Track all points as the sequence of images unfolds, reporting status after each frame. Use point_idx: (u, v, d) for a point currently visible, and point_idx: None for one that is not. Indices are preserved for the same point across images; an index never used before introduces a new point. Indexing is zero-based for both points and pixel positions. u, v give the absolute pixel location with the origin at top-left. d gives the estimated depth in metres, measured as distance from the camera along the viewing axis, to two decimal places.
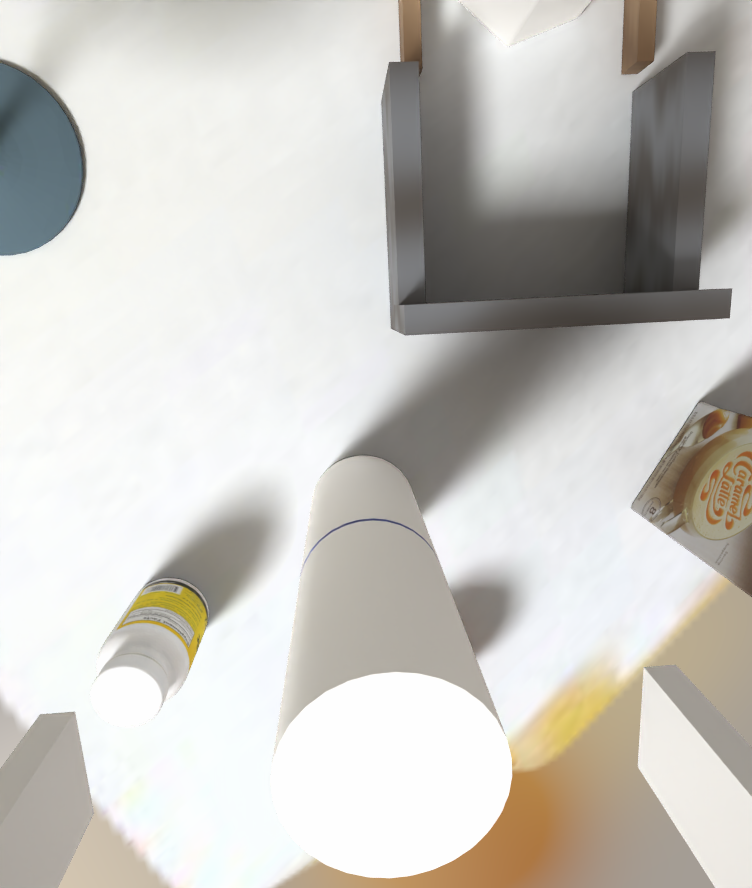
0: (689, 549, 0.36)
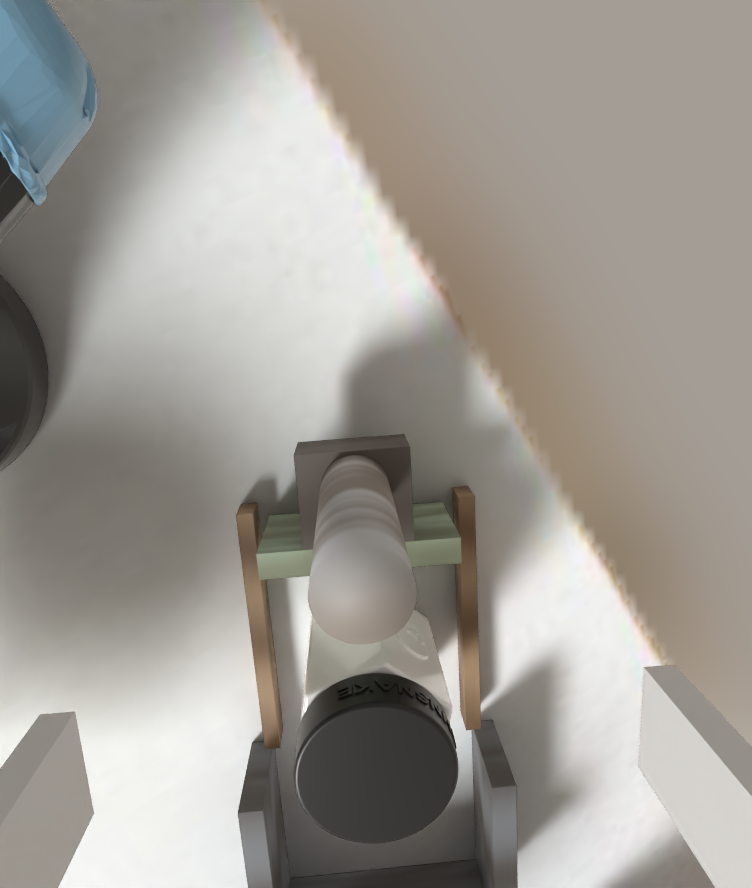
0: None
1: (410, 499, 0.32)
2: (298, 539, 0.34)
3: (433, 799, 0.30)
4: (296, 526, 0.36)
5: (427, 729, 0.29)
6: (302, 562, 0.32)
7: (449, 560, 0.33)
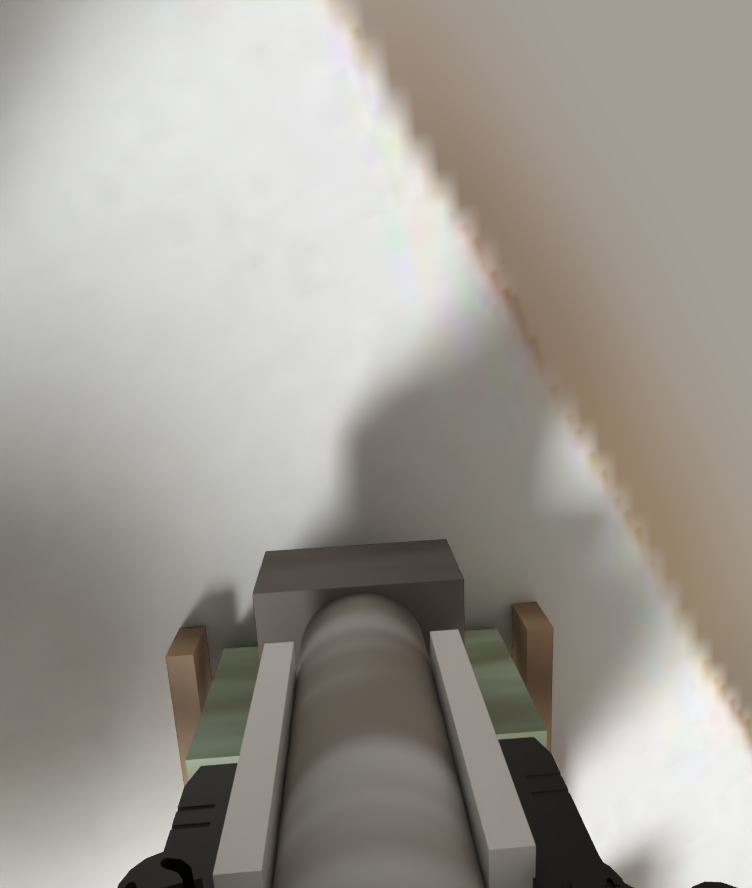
0: None
1: None
2: None
3: None
4: None
5: None
6: None
7: None
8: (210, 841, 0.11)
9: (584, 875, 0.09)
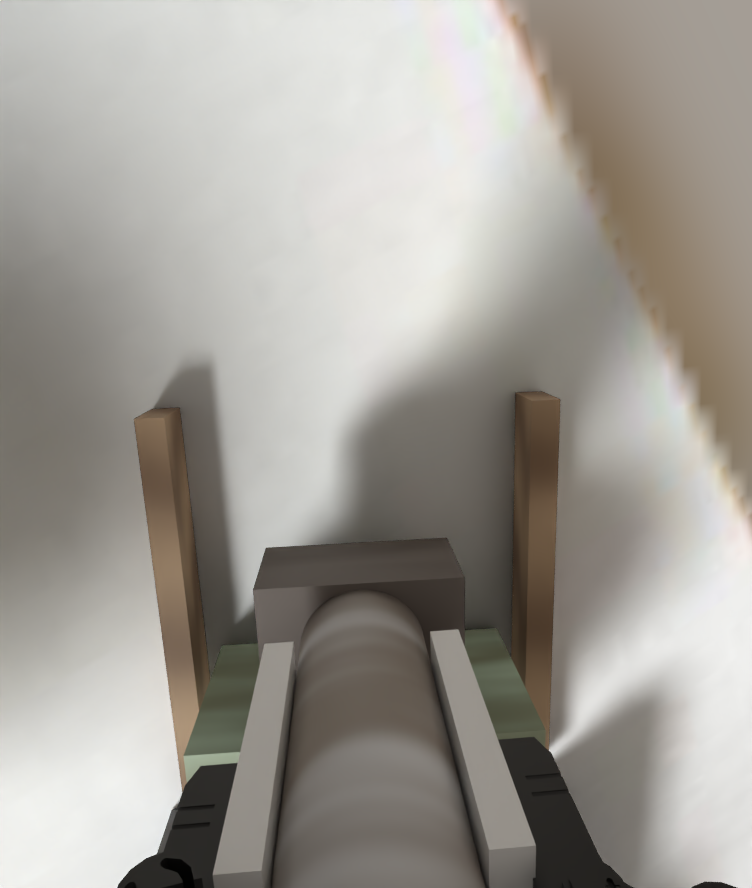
0: None
1: None
2: None
3: None
4: None
5: None
6: None
7: None
8: (209, 840, 0.11)
9: (584, 875, 0.09)
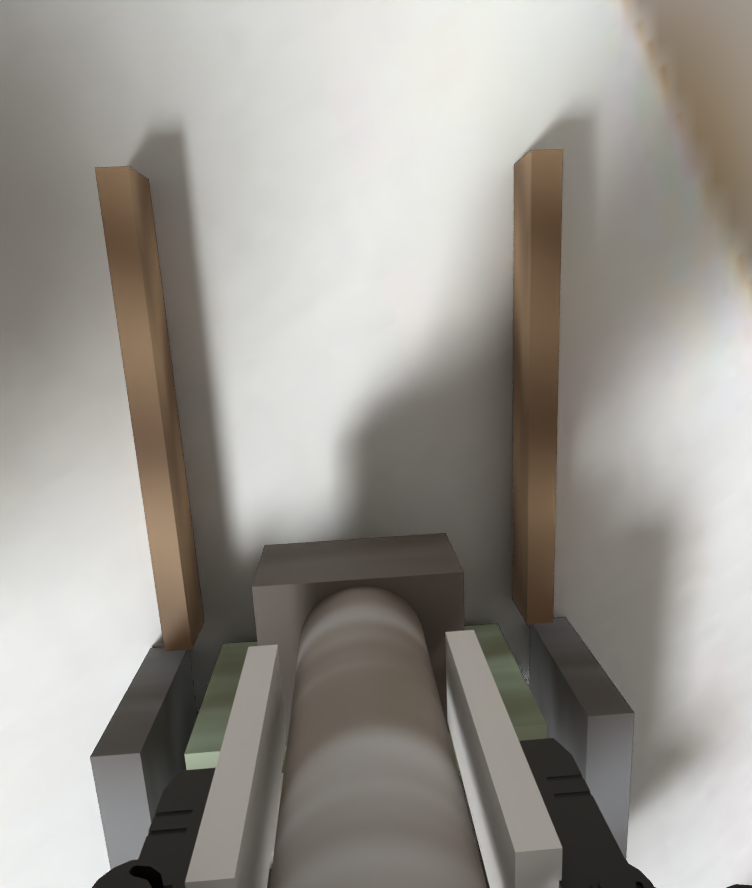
0: None
1: None
2: None
3: None
4: None
5: None
6: None
7: None
8: (185, 847, 0.11)
9: (613, 877, 0.09)
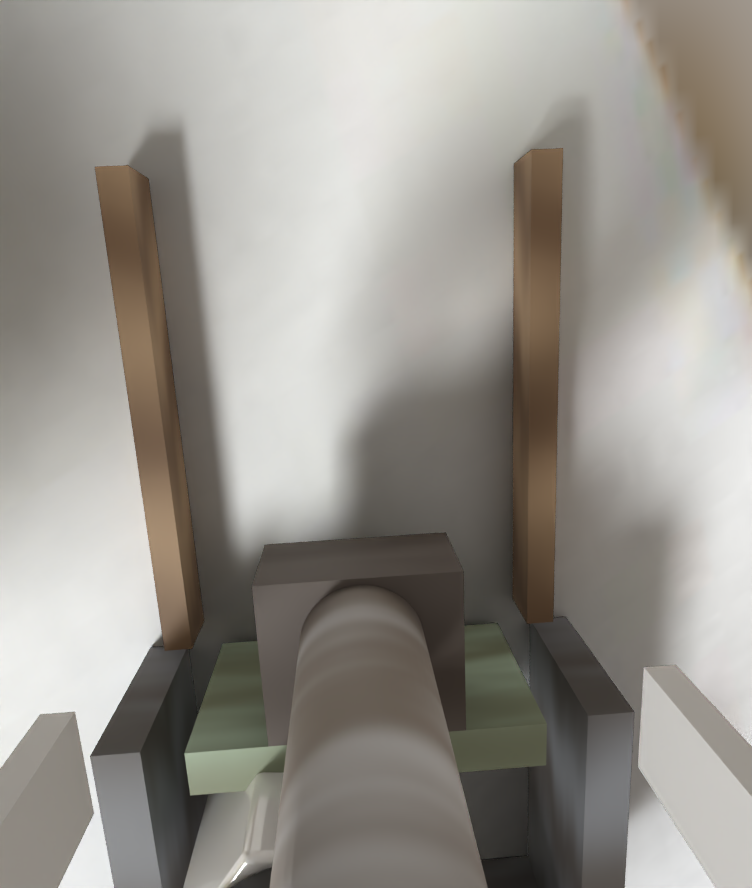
0: None
1: (461, 661, 0.18)
2: (263, 713, 0.20)
3: None
4: None
5: None
6: (267, 766, 0.18)
7: (526, 761, 0.19)
8: None
9: None
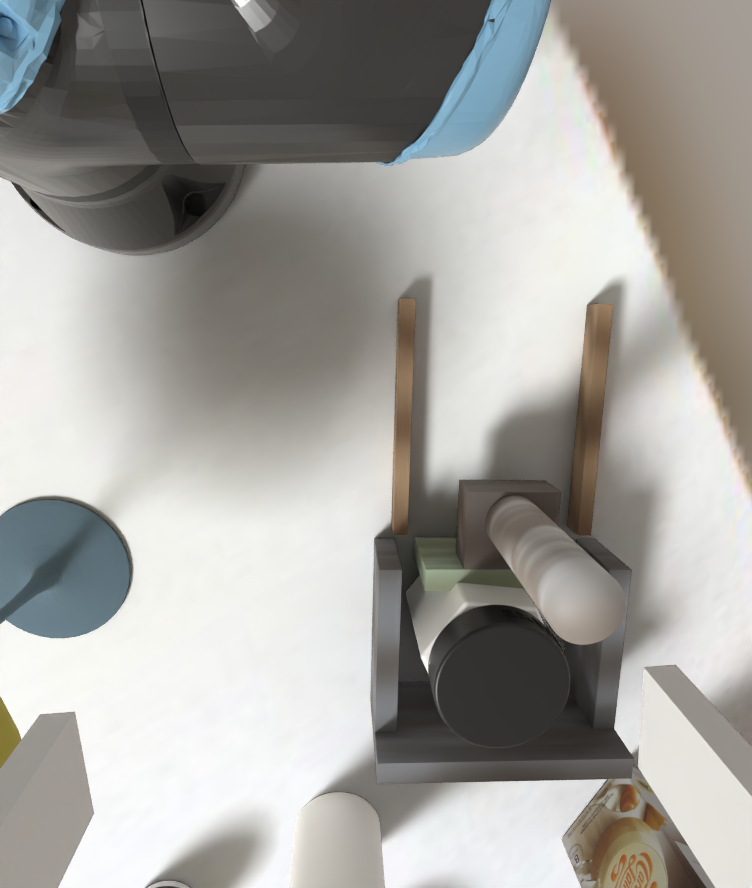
0: None
1: None
2: (454, 560, 0.41)
3: (530, 727, 0.36)
4: (445, 549, 0.43)
5: (561, 670, 0.35)
6: (461, 579, 0.39)
7: None
8: None
9: None
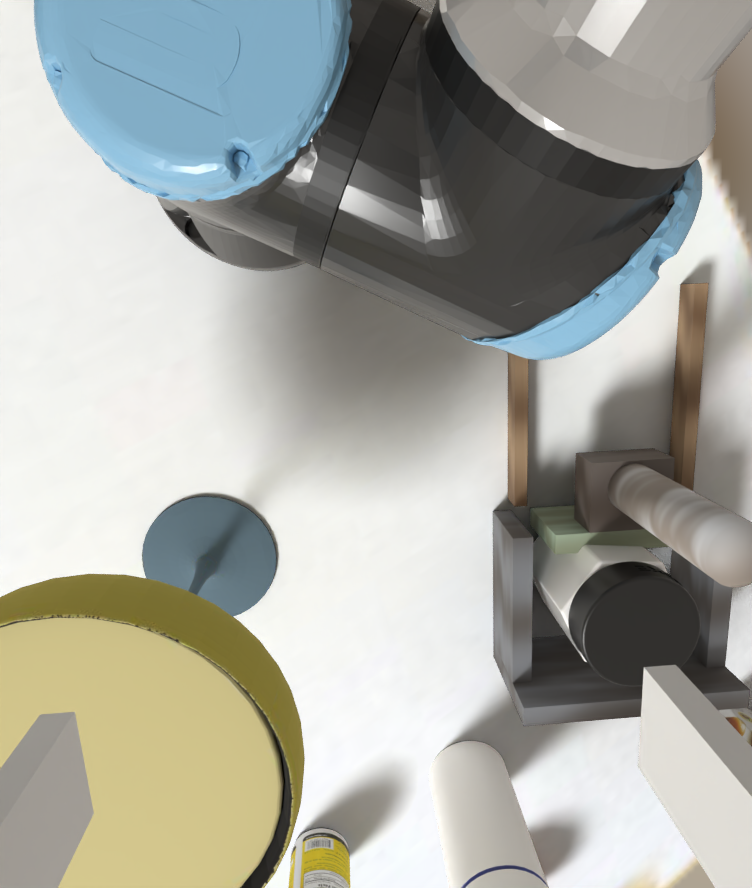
0: None
1: None
2: (576, 525, 0.45)
3: None
4: (563, 516, 0.47)
5: (692, 614, 0.40)
6: (587, 542, 0.44)
7: None
8: None
9: None
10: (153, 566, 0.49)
